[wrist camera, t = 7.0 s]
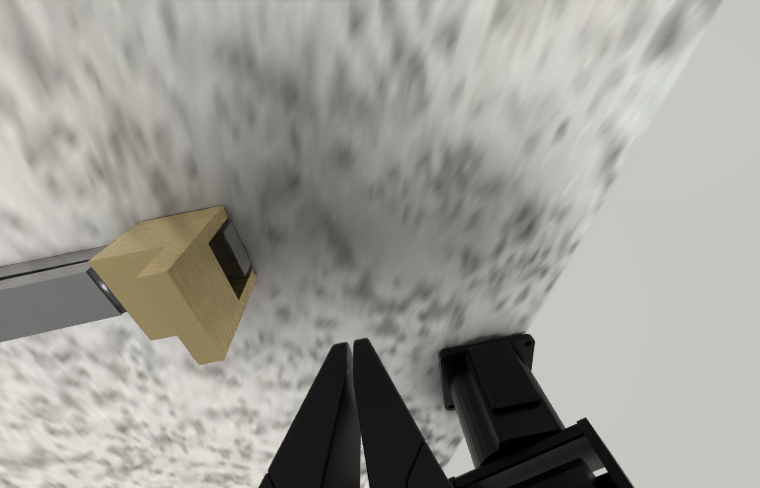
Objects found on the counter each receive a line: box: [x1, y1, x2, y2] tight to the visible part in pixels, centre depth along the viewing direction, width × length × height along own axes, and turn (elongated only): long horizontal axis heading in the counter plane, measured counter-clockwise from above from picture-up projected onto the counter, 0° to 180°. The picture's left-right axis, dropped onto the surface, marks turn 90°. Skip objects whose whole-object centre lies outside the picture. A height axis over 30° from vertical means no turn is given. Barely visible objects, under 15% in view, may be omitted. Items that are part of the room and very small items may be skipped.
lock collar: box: [88, 206, 257, 365], centre depth 13 cm, size 4×4×5 cm
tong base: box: [0, 221, 251, 281], centre depth 15 cm, size 20×3×1 cm, turn 100°
